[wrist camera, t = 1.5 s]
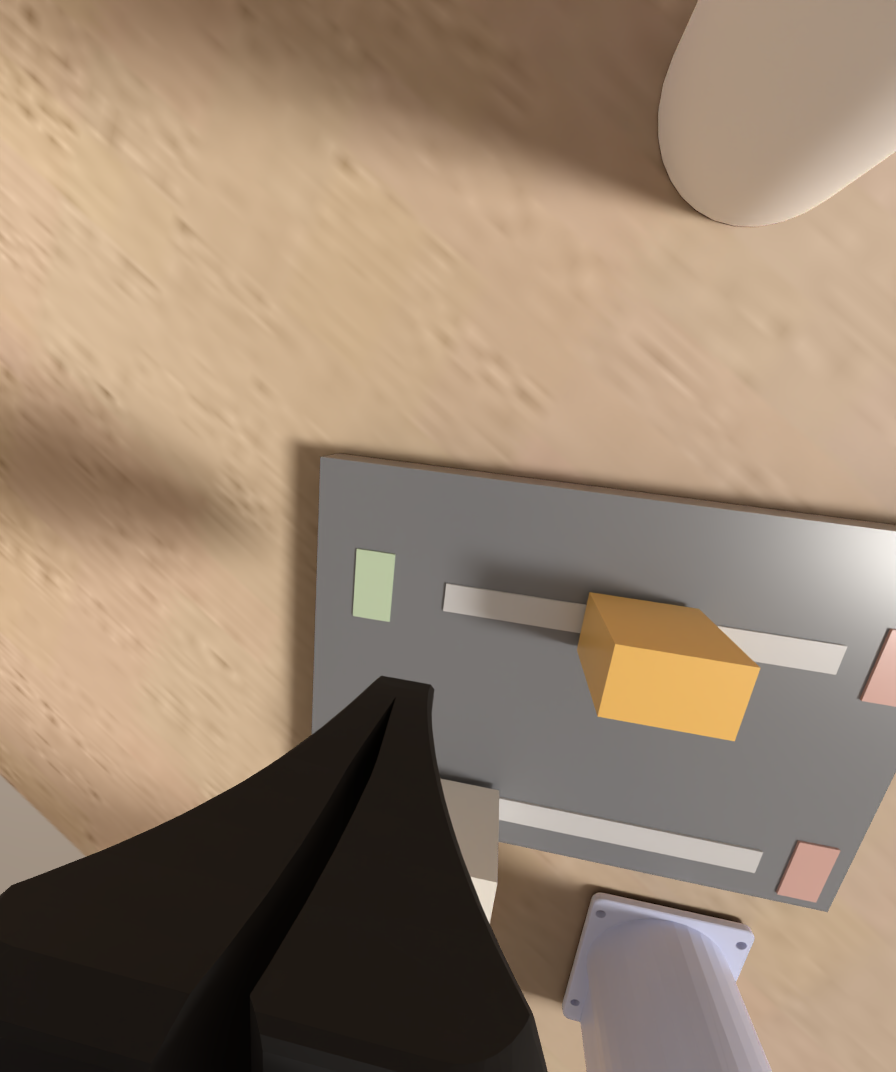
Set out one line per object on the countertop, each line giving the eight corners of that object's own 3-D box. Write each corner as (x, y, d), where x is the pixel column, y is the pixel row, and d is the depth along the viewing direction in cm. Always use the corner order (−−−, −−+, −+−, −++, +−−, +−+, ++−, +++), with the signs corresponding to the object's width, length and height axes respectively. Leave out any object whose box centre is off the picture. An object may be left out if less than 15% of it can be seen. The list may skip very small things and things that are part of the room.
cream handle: (491, 833, 20) (488, 932, 16) (407, 815, 20) (384, 907, 16) (499, 790, 19) (497, 882, 15) (412, 772, 19) (389, 858, 16)
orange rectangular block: (681, 667, 16) (734, 741, 13) (576, 650, 17) (597, 716, 13) (698, 608, 16) (760, 668, 12) (589, 592, 16) (614, 643, 12)
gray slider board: (797, 866, 21) (829, 914, 19) (325, 769, 23) (308, 802, 21) (946, 531, 16) (1009, 546, 14) (339, 453, 18) (319, 456, 16)
